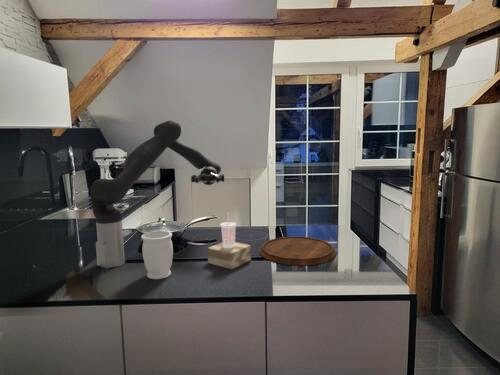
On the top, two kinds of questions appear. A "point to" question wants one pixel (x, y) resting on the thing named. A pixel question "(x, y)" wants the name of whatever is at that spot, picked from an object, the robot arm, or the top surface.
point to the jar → (157, 253)
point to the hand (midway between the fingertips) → (207, 180)
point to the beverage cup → (228, 233)
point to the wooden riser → (229, 255)
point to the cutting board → (297, 251)
